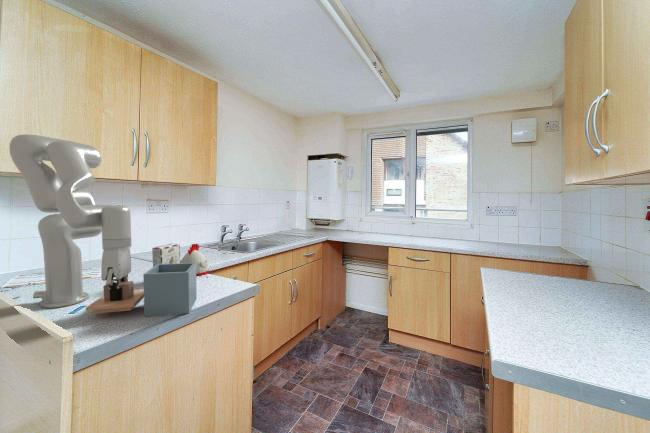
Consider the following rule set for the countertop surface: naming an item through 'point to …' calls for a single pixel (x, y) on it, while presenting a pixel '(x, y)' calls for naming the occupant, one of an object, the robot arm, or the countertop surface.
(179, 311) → the box
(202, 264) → the kitchen timer
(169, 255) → the candy bar box
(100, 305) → the lid
